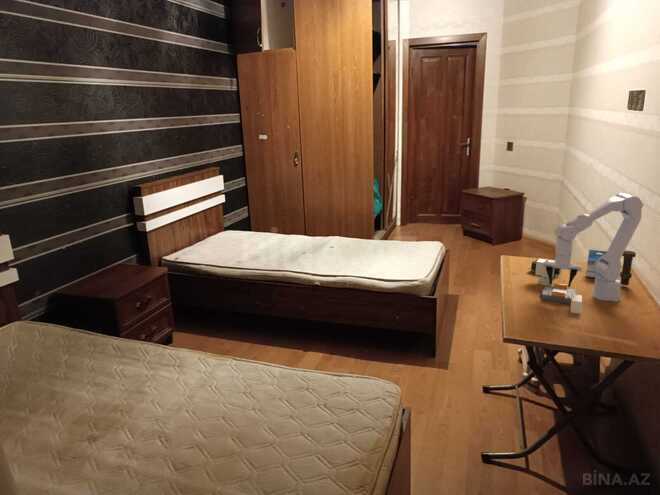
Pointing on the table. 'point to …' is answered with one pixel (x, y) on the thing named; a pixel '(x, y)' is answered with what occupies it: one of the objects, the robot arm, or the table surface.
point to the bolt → (627, 267)
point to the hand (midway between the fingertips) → (559, 285)
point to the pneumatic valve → (543, 271)
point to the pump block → (576, 303)
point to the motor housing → (558, 293)
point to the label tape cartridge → (593, 262)
